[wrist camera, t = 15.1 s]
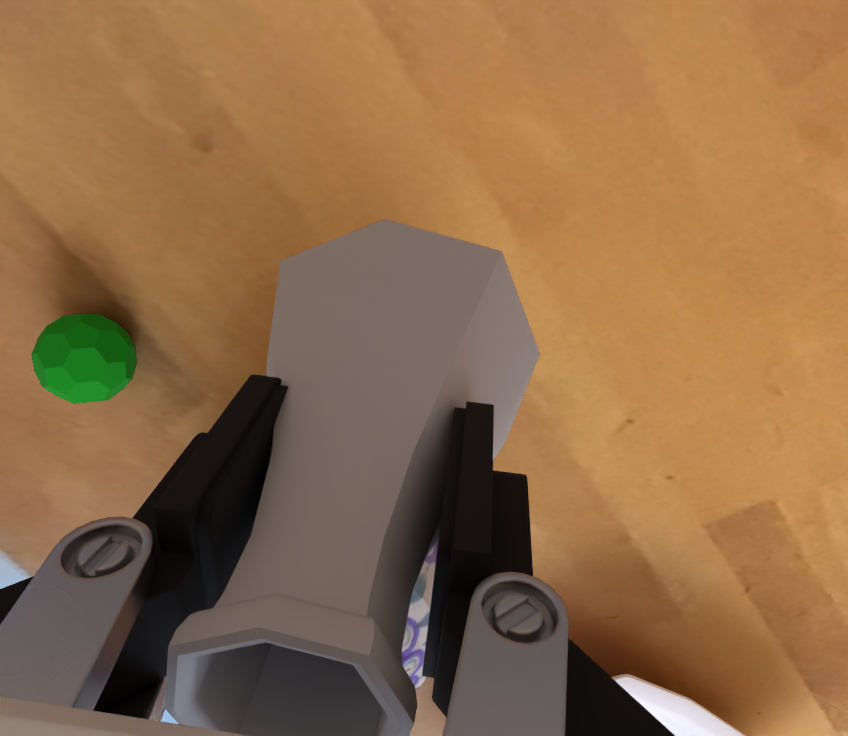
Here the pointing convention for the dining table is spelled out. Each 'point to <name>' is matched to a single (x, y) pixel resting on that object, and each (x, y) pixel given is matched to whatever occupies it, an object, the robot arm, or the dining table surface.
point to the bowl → (675, 709)
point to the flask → (352, 482)
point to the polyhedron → (84, 358)
